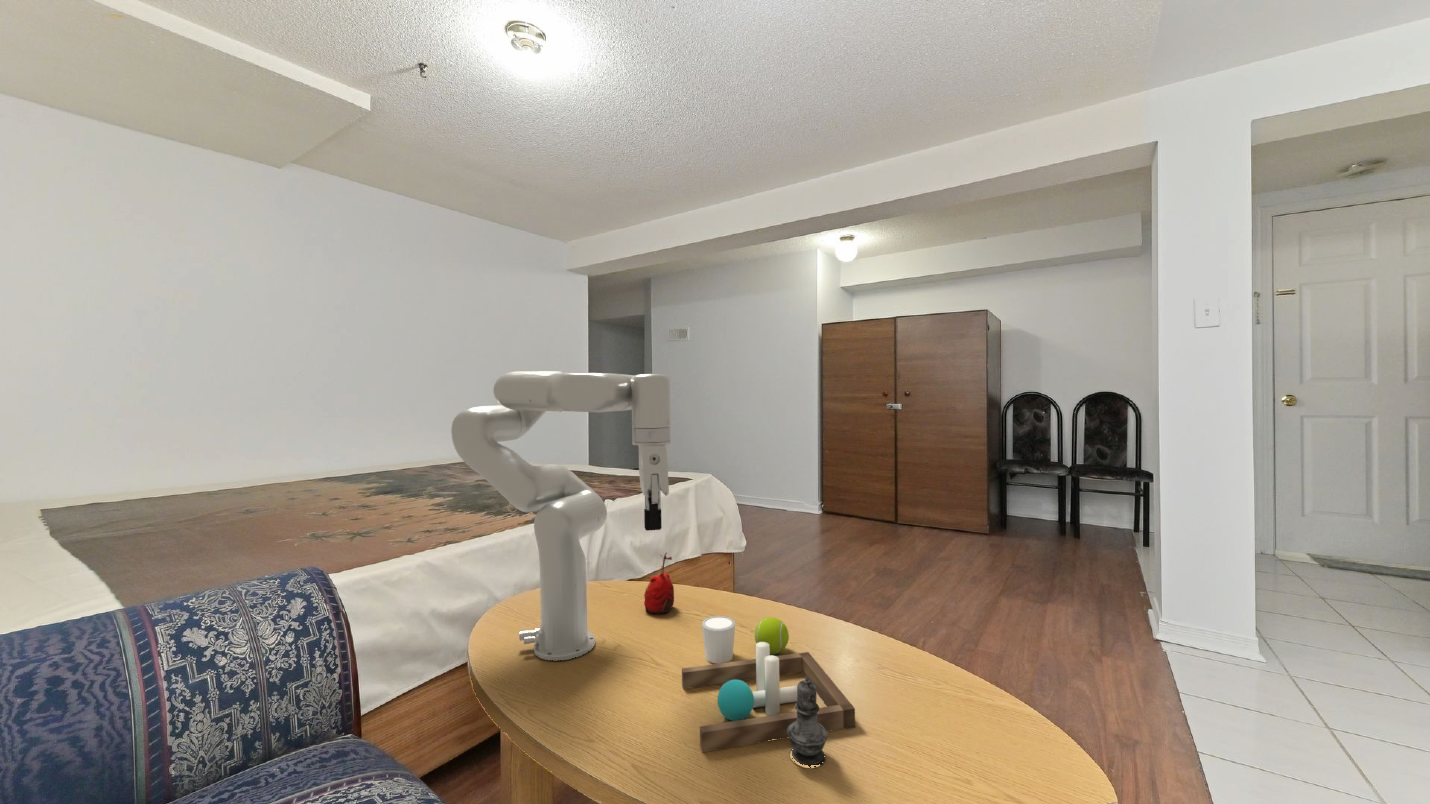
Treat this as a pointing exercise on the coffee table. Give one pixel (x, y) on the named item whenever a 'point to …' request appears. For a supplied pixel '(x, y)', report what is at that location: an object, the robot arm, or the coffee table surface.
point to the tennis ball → (772, 634)
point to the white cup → (718, 638)
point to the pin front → (785, 696)
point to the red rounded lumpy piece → (659, 592)
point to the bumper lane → (772, 726)
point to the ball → (735, 700)
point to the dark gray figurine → (807, 727)
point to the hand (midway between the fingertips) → (653, 528)
